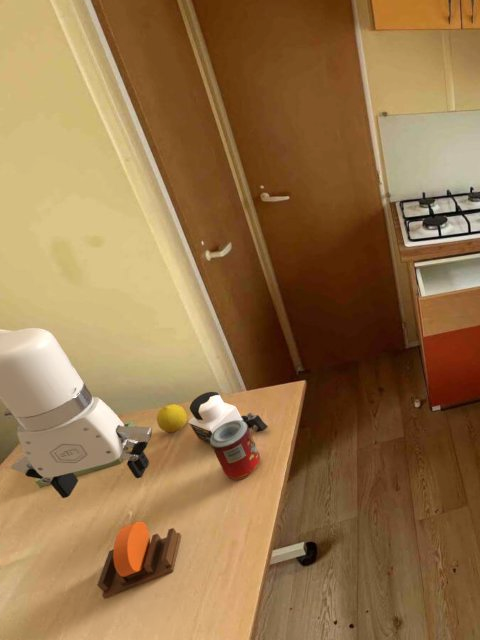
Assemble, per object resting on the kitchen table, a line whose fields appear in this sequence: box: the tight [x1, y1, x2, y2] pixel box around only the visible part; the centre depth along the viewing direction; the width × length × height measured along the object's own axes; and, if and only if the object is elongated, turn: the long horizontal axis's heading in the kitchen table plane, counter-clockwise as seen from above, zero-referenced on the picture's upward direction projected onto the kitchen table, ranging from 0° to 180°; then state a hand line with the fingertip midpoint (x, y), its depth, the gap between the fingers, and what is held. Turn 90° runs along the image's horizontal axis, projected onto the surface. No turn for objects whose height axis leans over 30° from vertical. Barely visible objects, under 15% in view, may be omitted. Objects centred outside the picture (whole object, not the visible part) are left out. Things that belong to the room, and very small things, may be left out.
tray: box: [34, 420, 137, 488], centre depth 98 cm, size 14×11×2 cm
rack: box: [96, 527, 182, 599], centre depth 77 cm, size 10×7×4 cm
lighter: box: [240, 412, 269, 433], centre depth 104 cm, size 8×2×5 cm
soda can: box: [209, 420, 261, 480], centre depth 93 cm, size 7×7×12 cm
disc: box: [113, 521, 151, 577], centre depth 76 cm, size 2×8×8 cm, turn 24°
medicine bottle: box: [188, 391, 243, 445], centre depth 101 cm, size 7×7×12 cm
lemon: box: [156, 403, 188, 433], centre depth 103 cm, size 6×6×8 cm
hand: (107, 480), depth 70 cm, fingers open, 9 cm apart
